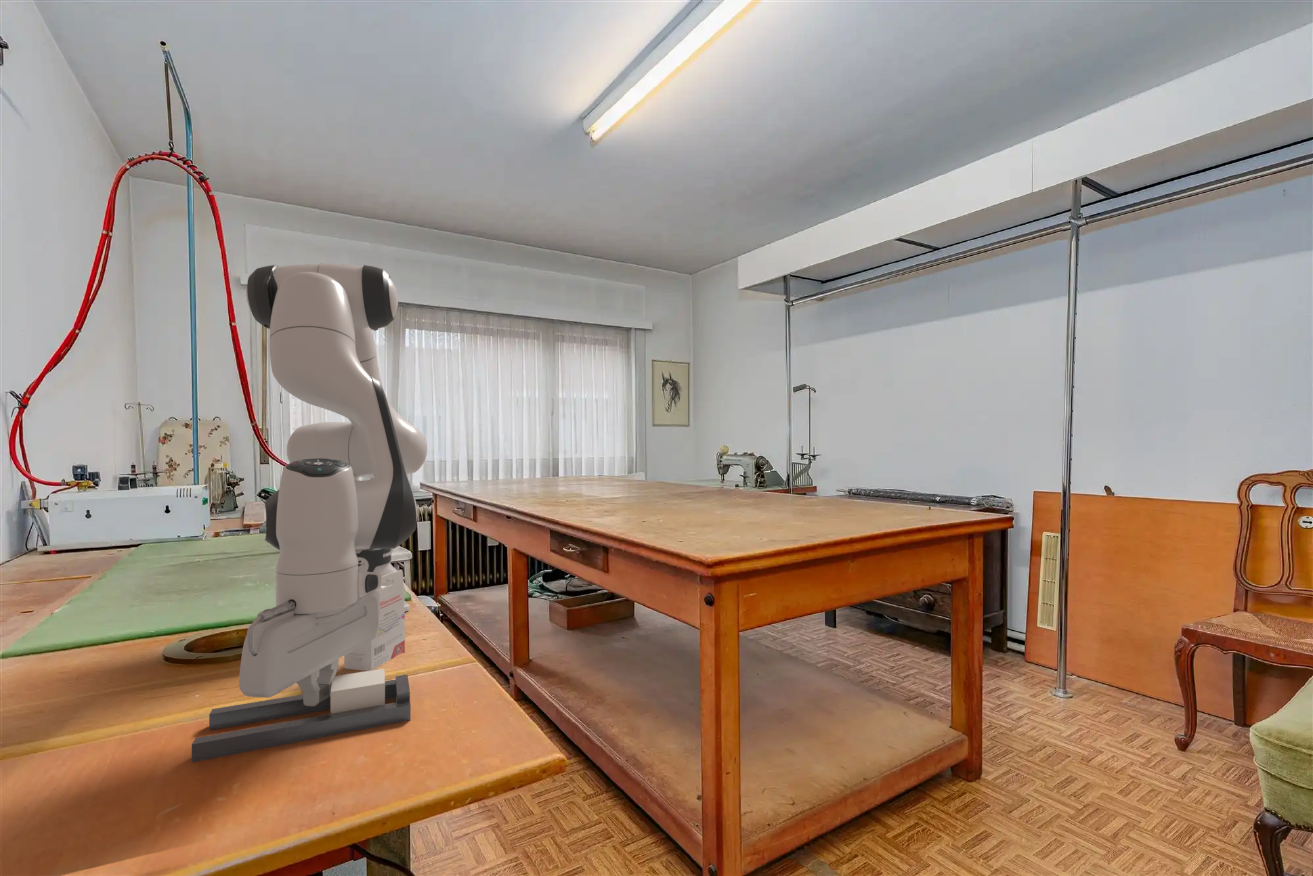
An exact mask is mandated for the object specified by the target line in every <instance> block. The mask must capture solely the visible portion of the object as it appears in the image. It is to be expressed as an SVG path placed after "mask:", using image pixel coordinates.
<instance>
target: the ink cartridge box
mask: <svg viewBox="0 0 1313 876" xmlns="http://www.w3.org/2000/svg"><path fill="white" fill-rule="evenodd" d="M386 580H388V581H391V580H392V584H391V585H389V586H380V588H379V589H377V591H378V593H379V595H380V625H379V630H378V632H377V635H376V637H375V638H374V639H373V640H371V641H369V642H367V643H365V644H364V645H362V646H360V647H358V648H357V649H355V650H353V651H351V652H350V653H348V654H346V655H344V656H343V658H344V660H343V661H344V663H343V664H344V665H343V667H344V668H343V669H344V670H345V669H347V670H355V671H356V670H357V671H363V672H365V671H371V670H376V669H377V668H379V667H381V666H382V665H383V664H385V663H387V662H388V661H390V660H392V659H393V658H396V657H397V656H399V655H401V654H405V652H406V651H405V649H406V645H405V644H406V641H405V639H406V636H405V634H406V633H405V630H406V626H405V625H406V624H405V622H406V619H405V616H406V613H405V612H406V611H405V602H406V601H405V599H406V598H405V597H406V596H405V595H406V594H405V584H404V581H405V580H404V573H403V569H399V570H397V571H396V572H393V573H390V574H387V575H384V576H381V584H383V583H385V581H386Z"/></svg>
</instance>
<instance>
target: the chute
mask: <svg viewBox="0 0 1313 876" xmlns="http://www.w3.org/2000/svg"><path fill="white" fill-rule="evenodd" d="M409 683H410V682H409V675H408V674H403V675H396V676H395V679H390V680H385V701H386V700H390V699H392V700H393V699H395V702H391V703H385V704H384V705H379V706H373V707H367V708H362V709H356V710H351V711H345V712H339V713H334V714H330V713H329V714H323V715H317V716H313V717H307V718H302V719H301V718H300V719H295V720H290V721H284V722H279V723H278V722H277V723H273V724H267V725H261V726H255V727H249V728H244V729H240V730H233V731H232V730H231V731H228V732H227V731H226V732H222V733H216V734H210V735H205V736H200V737H199V736H198V737H195V738H194V740H192V741H193V742H192V744H191V763H195V762H199V761H201V762H202V761H205V760H211V759H217V758H221V757H226V756H232V755H237V754H241V753H242V754H243V753H246V752H247V753H248V752H253V751H259V750H264V749H268V748H273V747H278V746H284V745H289V744H296V743H301V742H305V741H310V740H315V739H316V740H317V739H321V738H325V737H333V736H335V735H342V734H347V733H352V732H356V731H357V732H358V731H362V730H367V729H372V728H373V729H374V728H378V727H383V726H389V725H394V724H398V723H399V724H400V723H403V722H404V723H405V722H410V721H411V713H412V712H411V709H412V708H411V691H410V684H409ZM329 710H330V711H331V696H329V697H328V698H326V699H324V700H323V701H322V702H320V703H319V704H317V705H315V706H306V705H304V703H303V693H302V694H296V695H292V696H291V695H290V696H285V697H279V698H272V699H266V700H260V701H259V700H258V701H254V702H249V703H248V702H247V703H242V704H235V705H229V706H223V707H222V706H221V707H217V708H212V710H211V711H210V712H209V714H208V715H209V716H208V717H209V719H208V720H209V723H208V724H209V726H208V728H209V729H208V731H215V730H219V729H220V730H221V729H225V728H230V727H237V726H243V725H249V724H254V723H260V722H265V721H271V720H276V719H283V718H287V717H288V718H289V717H294V716H300V715H306V714H312V713H317V712H323V711H329Z"/></svg>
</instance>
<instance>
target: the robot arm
mask: <svg viewBox="0 0 1313 876" xmlns="http://www.w3.org/2000/svg"><path fill="white" fill-rule="evenodd" d="M391 278H392V277H391V275H390V274H389V273H388V272H387V271H386V270H385V269H384V268H381V267H377V266H373V265H366V264H363V266H359V265H352V264H351V265H350V264H344V263H325V262H323V263H322V262H320V263H319V264H318V263H317V264H316V263H312V264H310V263H309V264H295V265H294V264H292V265H284V266H279V265H278V264H272V265H264V266H261V267H257V268H256V269H255V270H253V272H252V273H251V274H250V275H249V276H248V279H247V284H246V294H245V296H246V302H247V305H248V307H249V310H250V312H251V314H252V316H253V318H254V320H255V321H256V322H257V323H259V324H260V325H261V326H263V327H264V328H266V329H268V330H269V345H268V347H269V350H268V351H269V360H270V367H271V371H272V372H271V373H272V375H273V377H274V379H275V380H276V382H277V383H278V384H279V386H281V388H283V389H284V390H285V391H286V392H287V393H289V394H290V395H291V396H293V397H295V398H297V399H298V400H300V401H303V402H305V403H307V404H309V405H312V406H315V407H317V408H320V409H323V410H327V411H331V412H333V413H335V414H338V415H340V416H342V417H344V418H347V419H348V421H350V422H346V421H345V422H340V421H338V422H337V421H335V422H332V421H331V422H329V421H328V422H327V421H325V422H318V423H312V424H306V425H301V426H299V427H297V428H296V429H294V431H293V432H292V433H291V435H290V437H289V439H288V441H287V444H286V456H287V459H288V462H289V463H288V464H286V465H285V466H284V467H283V470H282V472H281V473H282V474H281V478H280V483H279V487H278V489H277V490H276V491H275V492H274V493H272V495H271V496H270V497H268V498H267V499H266V500H265V502H264V509H265V517H266V518H265V527H266V528H265V537H264V538H265V539H264V541H265V542H267V543H268V544H269V545H271V547H274V548H276V550H278V551H279V557H278V560H277V563H276V566H275V606H274V607H272V608H267V609H264V610H262V611H260V612H258V614H257V617H256V618H254V620H253V621H252V623H251V624H250V625H249V626H248V627H247V631H246V635H245V637H244V640H243V641H244V642H243V647H242V651H241V652H242V653H241V659H240V666H239V678H238V679H239V680H238V687H239V690H240V691H241V693H242V694H243V695H244V696H246V697H250V698H265V699H267V698H272V697H274V696H276V695H277V694H279V693H281V692H283V691H284V690H287V689H288V688H289V687H291V686H294V685H295V684H297V685H298V687H299V688H300V689H301V691H302V694H303V703H304V705H306V706H315V705H317V704H319V703H320V702H322V701H323V700H324V699H326V698H328V697H329V696H331V686H332V682H333V680H334V677H335V676H336V674H337V672H338V669H339V666H340V661H339V659H341V658H344V655H346V654H348V653H350V652H351V651H353V650H355V649H357V648H358V647H360V646H362V645H364V644H365V643H367V642H369V641H371V640H373V639H374V638H375V637H376V635H377V632H378V630H379V625H380V595H379V593H378V591H377V589H379V588H380V586H389V585H391V584H392V580H391V581H388V580H386V581H385V583H383V584H381V576H384V575H387V574H390V573H393V572H396V571H398V570H397V568H395V567H394V566H393V565H392V563H391V561H392V553H393V551H392V549H396V548H398V547H399V546H400V545H402V544H403V543H404V542H405V541H407V540H408V539H409V538H410V537H411V536H412V535H413V534H414V532H415V531H416V529H417V525H418V524H417V522H418V515H419V514H418V512H419V511H418V505H417V501H416V498H415V495H414V492H413V490H412V487H411V484H410V481H409V479H408V476H407V475H408V474H414V473H416V472H418V471H419V470H420V468H421V467H422V466H423V465H424V463H425V461H426V458H427V455H428V444H427V440H426V438H425V435H424V434H423V433H422V432H421V431H420V429H419V428H418V427H416V426H415V425H413V424H411V423H409V421H406V419H404V418H403V417H402V416H401V415H400V414H399V413H398V412H397V410H396V409H394V407H393V406H392V405H391V403H390V402H389V400H388V398H387V396H386V393H385V391H384V387H383V384H382V380H381V375H380V371H379V370H380V369H379V364H378V363H379V361H378V357H377V356H378V355H377V350H376V342H375V339H374V335H373V334H374V333H373V331H375V332H376V331H378V330H379V329H381V328H385V327H388V326H389V324H391V323H392V322H393V321H394V320H395V317H396V313H397V310H398V306H399V294H398V292H397V291H398V290H397V288H396V285H395V284H394V281H393V280H392V279H391ZM370 477H371V479H367V480H365V479H363V480H360V478H370ZM409 611H410V604H409V603H408V602H407V601H405V612H409Z"/></svg>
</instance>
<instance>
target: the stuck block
mask: <svg viewBox="0 0 1313 876" xmlns="http://www.w3.org/2000/svg"><path fill="white" fill-rule="evenodd" d="M385 674H386V673H385V668H379V669H373V670H371V671H360V672H359V671H358V672H353V673H346V674H339V675H335V677H334V680H333V682H332V686H331V709H330V713H329V714H334V713H339V712H345V711H351V710H356V709H362V708H367V707H373V706H379V705H384V704H386V703H385V702H386V700H385V681H386V680H385V677H386V676H385Z"/></svg>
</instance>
